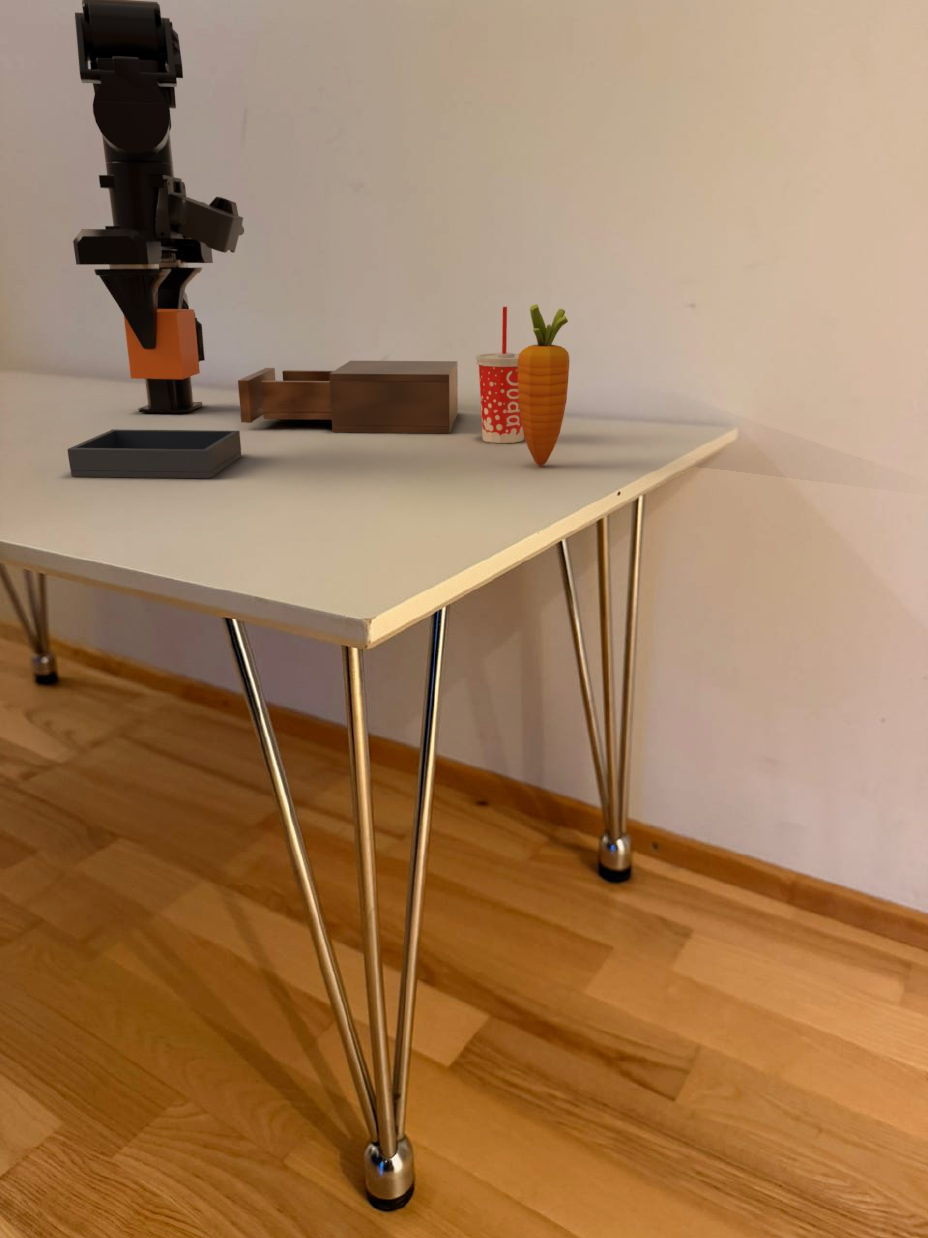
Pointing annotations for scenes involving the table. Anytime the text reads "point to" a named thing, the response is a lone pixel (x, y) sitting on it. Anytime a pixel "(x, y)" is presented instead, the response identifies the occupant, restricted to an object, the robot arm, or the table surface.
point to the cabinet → (394, 396)
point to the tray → (155, 454)
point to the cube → (166, 347)
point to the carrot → (543, 387)
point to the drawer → (285, 395)
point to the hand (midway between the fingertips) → (160, 346)
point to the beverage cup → (500, 394)
